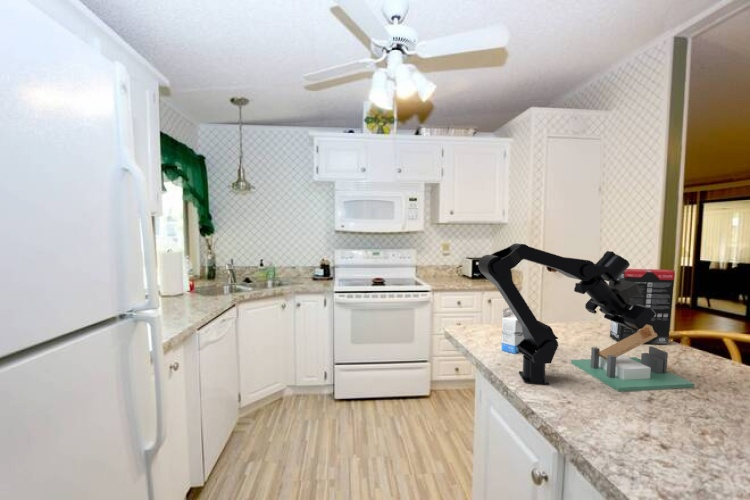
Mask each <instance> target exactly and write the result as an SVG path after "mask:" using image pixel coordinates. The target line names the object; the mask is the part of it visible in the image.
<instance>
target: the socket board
mask: <svg viewBox="0 0 750 500" xmlns="http://www.w3.org/2000/svg"><path fill="white" fill-rule="evenodd" d="M600 351H601V350H600V348H599V347H597V346H596V347H595V346H593V347H591V351H590V358H585V359H570V362H571V363H570V364H572V365H573V366H575V367H577V368H579V369H580V370H582V371H584V372H585V373H587V374H588V375H590V376H592V377H593V378H594V379H597V380H598V379H599V380H598V381H600V382H602V383H604V384H605V385H607V386H608V387H610V388H612V389H613V390H615V391H617V392H633V391H650V390H651V391H653V390H668V389H669V390H670V389H671V390H673V389H683V388H686V389H689V388H695V382H692V381H689V380H688V379H685V378H683V377H681V376H679V375H676V374H674V373H672V372H669V371H667V370H668V369H667V368H668V354H669V353H668V352H667V351H664V350H663V349H662V350H661V349H659V348H657V347H655V346H648V352H642V353H641V356H640V358H638V357H636V356H632V357H631V356H630V357H628V356H626V355H624V354H622V355H620V356H619V357H617V358H616V356H614V355H607V360H606V359H604V358H602V357H600V356H598V352H600Z"/></svg>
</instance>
